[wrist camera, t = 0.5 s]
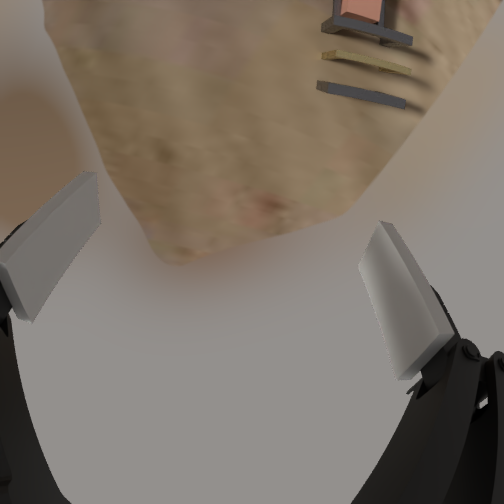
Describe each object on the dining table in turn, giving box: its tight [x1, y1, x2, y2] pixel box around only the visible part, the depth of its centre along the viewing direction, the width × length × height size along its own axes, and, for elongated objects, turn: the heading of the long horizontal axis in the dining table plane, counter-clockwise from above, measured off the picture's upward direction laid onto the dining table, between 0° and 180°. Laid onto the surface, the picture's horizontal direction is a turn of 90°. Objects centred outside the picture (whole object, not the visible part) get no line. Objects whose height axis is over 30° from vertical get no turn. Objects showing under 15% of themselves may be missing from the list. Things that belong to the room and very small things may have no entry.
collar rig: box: [316, 0, 413, 109], centre depth 23 cm, size 19×9×8 cm, turn 177°
